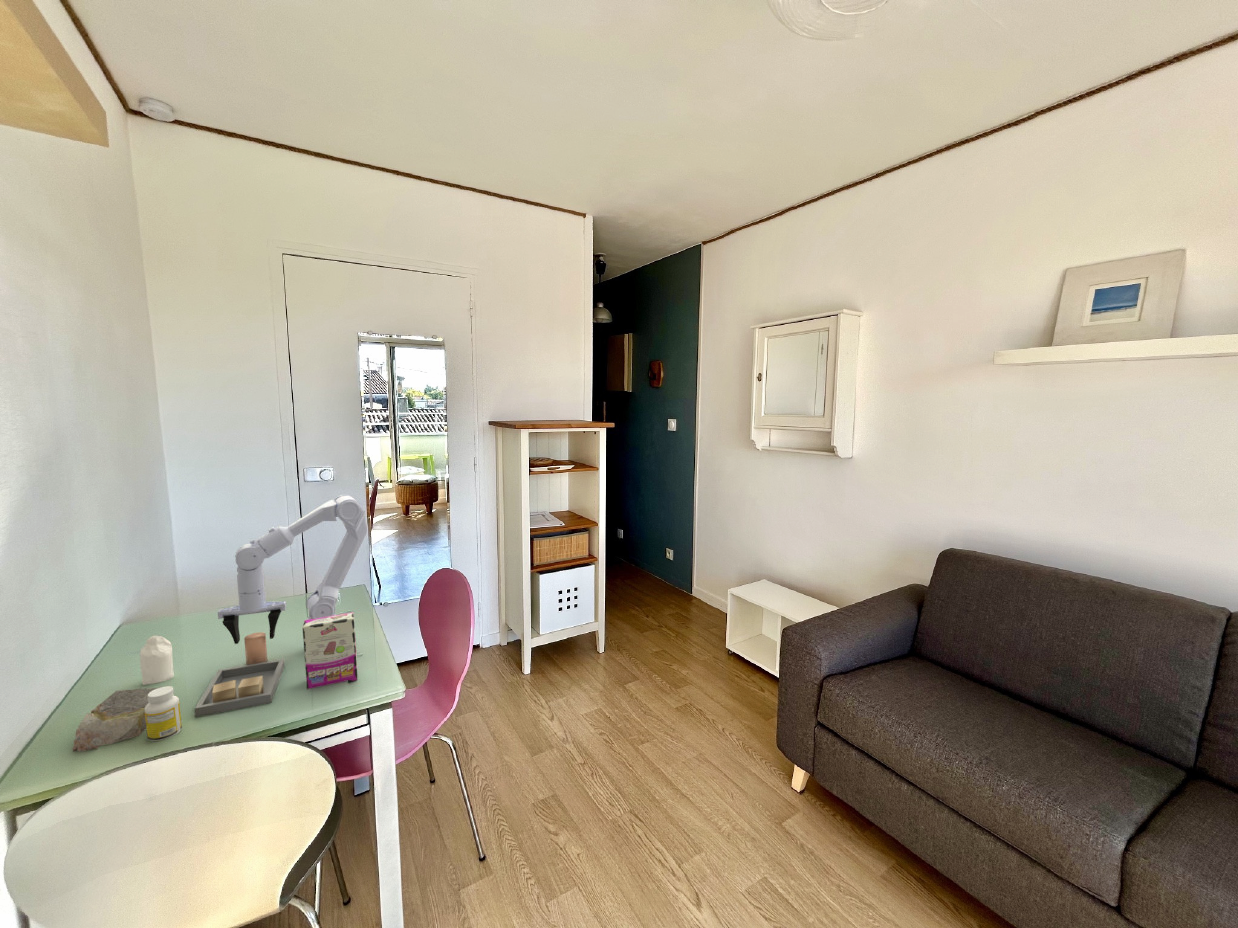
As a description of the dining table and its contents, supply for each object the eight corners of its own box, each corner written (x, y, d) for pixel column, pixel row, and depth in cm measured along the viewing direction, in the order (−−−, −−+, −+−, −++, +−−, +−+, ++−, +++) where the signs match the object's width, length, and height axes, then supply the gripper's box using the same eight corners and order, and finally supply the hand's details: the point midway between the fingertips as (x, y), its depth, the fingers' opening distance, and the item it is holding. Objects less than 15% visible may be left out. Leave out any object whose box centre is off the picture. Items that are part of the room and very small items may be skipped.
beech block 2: (263, 691, 122) (262, 675, 122) (260, 700, 119) (258, 684, 118) (243, 695, 121) (242, 679, 120) (239, 704, 117) (237, 687, 117)
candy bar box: (357, 671, 133) (354, 611, 131) (357, 680, 129) (354, 618, 127) (307, 681, 128) (303, 618, 126) (306, 691, 124) (302, 626, 122)
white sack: (165, 627, 130) (174, 632, 128) (169, 671, 132) (178, 678, 129) (134, 636, 125) (142, 642, 122) (138, 682, 127) (147, 689, 124)
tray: (284, 668, 134) (284, 658, 134) (271, 704, 118) (270, 694, 118) (219, 679, 129) (218, 669, 128) (195, 719, 112) (194, 708, 112)
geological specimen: (175, 682, 118) (135, 717, 104) (175, 708, 119) (135, 746, 104) (118, 688, 115) (68, 724, 101) (118, 714, 116) (69, 754, 101)
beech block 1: (236, 695, 120) (235, 679, 120) (235, 704, 117) (234, 687, 117) (215, 701, 118) (213, 684, 118) (213, 709, 115) (212, 693, 114)
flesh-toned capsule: (269, 659, 139) (267, 631, 138) (265, 667, 135) (263, 638, 134) (248, 662, 137) (246, 634, 136) (244, 670, 133) (242, 641, 132)
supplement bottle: (161, 727, 109) (157, 684, 108) (188, 726, 110) (184, 683, 109) (140, 744, 104) (135, 698, 103) (168, 742, 105) (164, 697, 103)
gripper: (287, 581, 140) (289, 629, 142) (221, 588, 134) (225, 638, 136) (282, 590, 134) (285, 639, 135) (213, 597, 128) (217, 649, 129)
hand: (254, 639), depth 135 cm, fingers open, 7 cm apart
